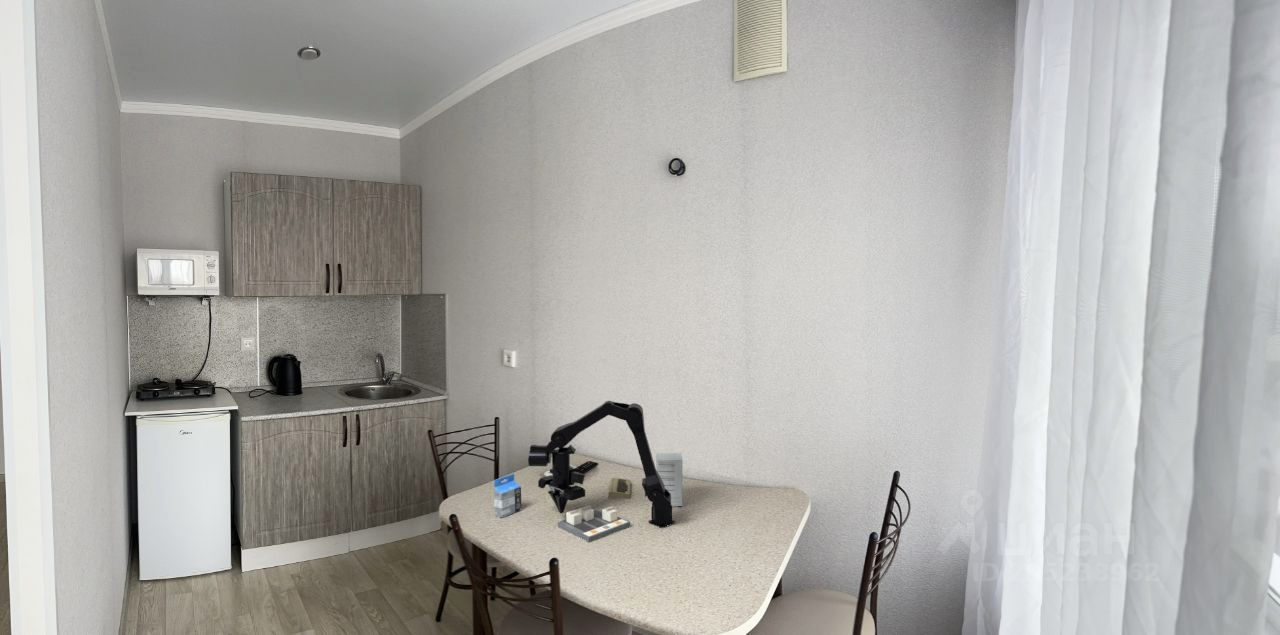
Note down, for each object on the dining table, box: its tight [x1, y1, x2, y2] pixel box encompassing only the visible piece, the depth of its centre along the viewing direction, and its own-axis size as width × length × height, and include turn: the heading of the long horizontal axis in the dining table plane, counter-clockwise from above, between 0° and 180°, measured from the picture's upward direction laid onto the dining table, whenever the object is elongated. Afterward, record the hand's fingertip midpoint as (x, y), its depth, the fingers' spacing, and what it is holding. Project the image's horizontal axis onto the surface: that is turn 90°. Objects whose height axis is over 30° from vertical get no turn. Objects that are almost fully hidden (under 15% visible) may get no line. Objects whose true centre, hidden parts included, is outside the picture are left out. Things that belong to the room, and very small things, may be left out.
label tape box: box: [493, 473, 523, 519], centre depth 200 cm, size 9×4×12 cm, turn 143°
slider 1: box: [565, 508, 582, 525], centre depth 188 cm, size 4×3×4 cm
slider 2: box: [601, 506, 618, 522], centre depth 191 cm, size 4×3×4 cm
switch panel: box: [557, 508, 631, 543], centre depth 189 cm, size 16×17×2 cm
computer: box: [607, 477, 632, 500], centre depth 222 cm, size 16×8×3 cm, turn 0°
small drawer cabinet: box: [655, 452, 684, 507], centre depth 210 cm, size 10×9×17 cm
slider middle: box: [578, 504, 595, 521], centre depth 192 cm, size 4×3×4 cm
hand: (561, 513), depth 193 cm, fingers closed
